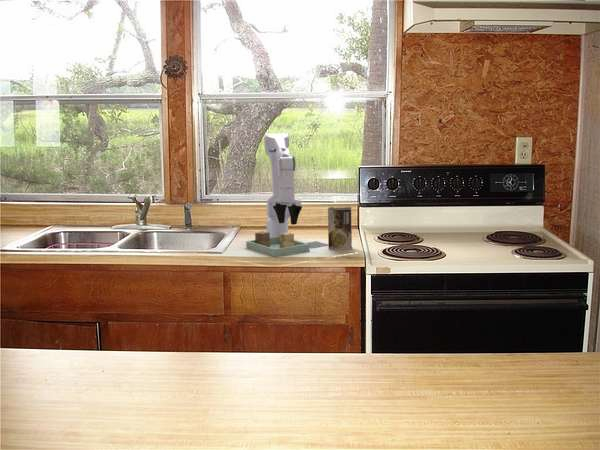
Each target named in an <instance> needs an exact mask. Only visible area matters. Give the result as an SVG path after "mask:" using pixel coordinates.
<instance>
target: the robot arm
mask: <svg viewBox="0 0 600 450" xmlns="http://www.w3.org/2000/svg"><path fill="white" fill-rule="evenodd" d="M263 140H264V142H263V143H264V153H265V156H268V157H269V159H270V166H271V167H270V168H271V170H270V171H271V183H272V184H271V185H272V186H271V187H272V195H271V196H270V197H269V198H268V199H267V200H266V214H267V216H266V217H268V219H267V220H266V223H265V224H266V225H265V226H266V231H265V232H270V238H272V237H278V236H280V235H279V234H280V233H287V232H288V233H289V222H288V221H289V218H290V225H292V226H293V225H294V226H295V225H297V224H298V220H299V215H300V213H301V211H302V209H303V206H302V200H299V199H295V197H296V196H295V171H296V158H295V156H293V155H292V154H291V151H290V150H289V147H290V135H289V134H288V133H265V134H264V139H263Z"/></svg>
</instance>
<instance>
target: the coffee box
mask: <svg viewBox="0 0 600 450" xmlns="http://www.w3.org/2000/svg"><path fill="white" fill-rule="evenodd" d="M327 227H328V228H327V231H328V233H327V235H328V236H327V237H328V238H327V239H328V240H327V241H328V243H327V244H328V246H327V248H328V250H352V249H353V245H352V244H353V242H352V240H353V239H352V238H353V237H352V207H351V206H333V207H332V206H328V208H327Z"/></svg>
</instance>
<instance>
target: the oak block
mask: <svg viewBox="0 0 600 450" xmlns="http://www.w3.org/2000/svg"><path fill="white" fill-rule="evenodd" d="M279 235H280V248H285V247H291V246H294V240H295V234H294V233H291V232H289V231H288V232H287V233H280V234H279Z"/></svg>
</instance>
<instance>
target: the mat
mask: <svg viewBox="0 0 600 450" xmlns="http://www.w3.org/2000/svg"><path fill="white" fill-rule="evenodd" d="M306 243H307V244H310V249H317V248H318V249H319V248H323V247H328V243H325V242H320V241H314V240H313V241H309V242H306Z"/></svg>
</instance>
